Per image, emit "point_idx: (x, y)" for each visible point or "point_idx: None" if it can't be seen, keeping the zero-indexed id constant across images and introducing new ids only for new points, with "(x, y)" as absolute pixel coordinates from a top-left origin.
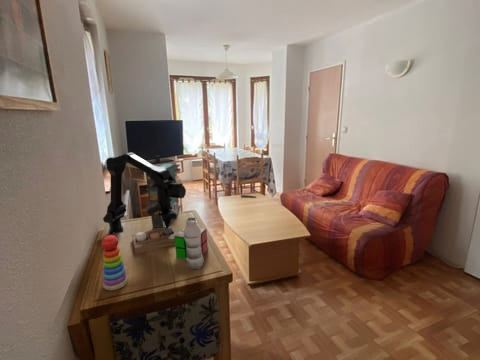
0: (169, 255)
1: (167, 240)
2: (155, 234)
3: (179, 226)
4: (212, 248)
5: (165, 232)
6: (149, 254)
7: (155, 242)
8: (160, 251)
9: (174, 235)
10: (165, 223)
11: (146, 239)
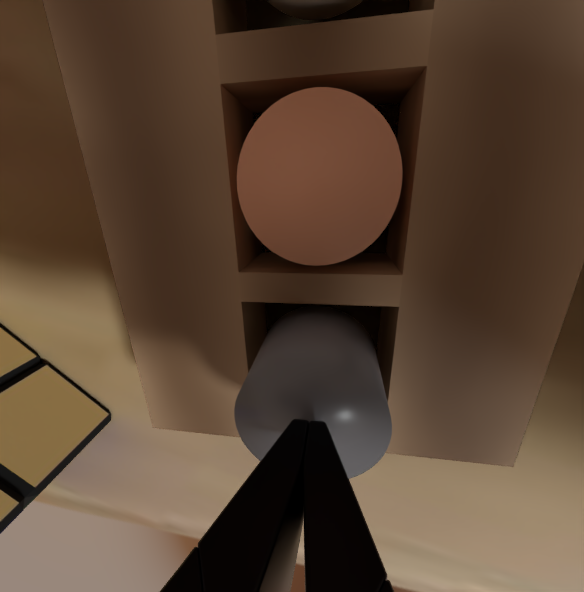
0: (5, 259)
1: (130, 312)
2: (318, 196)
3: (536, 485)
4: (53, 497)
5: (259, 351)
6: (46, 68)
7: (88, 157)
8: (83, 199)
9: (204, 405)
10: (221, 520)
11: (297, 13)
